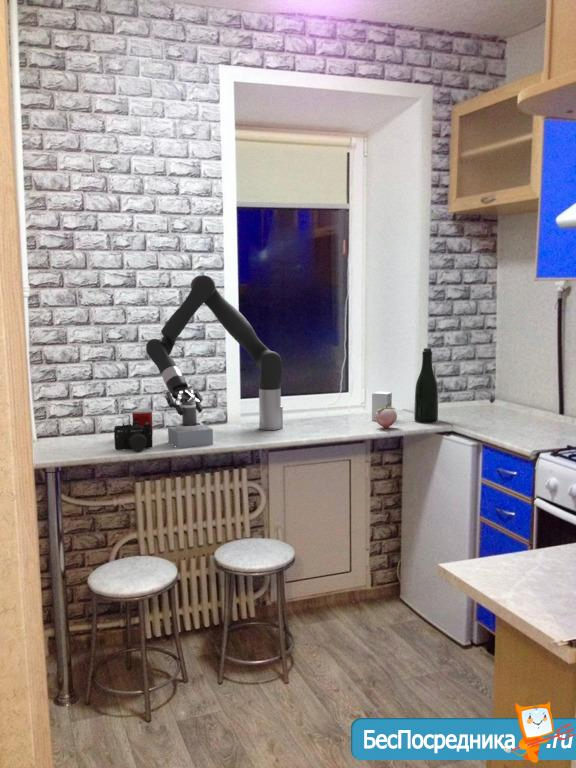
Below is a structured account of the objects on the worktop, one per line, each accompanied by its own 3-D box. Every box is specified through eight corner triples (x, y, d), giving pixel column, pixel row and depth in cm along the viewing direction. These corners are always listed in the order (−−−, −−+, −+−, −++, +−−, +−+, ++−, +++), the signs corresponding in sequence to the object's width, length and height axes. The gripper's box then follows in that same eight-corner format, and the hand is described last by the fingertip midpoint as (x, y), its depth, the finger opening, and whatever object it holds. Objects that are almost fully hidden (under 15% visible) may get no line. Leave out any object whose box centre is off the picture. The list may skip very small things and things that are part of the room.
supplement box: (387, 421, 303) (387, 394, 301) (371, 420, 306) (371, 393, 304) (391, 419, 310) (392, 391, 308) (376, 418, 313) (376, 391, 311)
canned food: (156, 435, 277) (155, 409, 275) (146, 439, 269) (145, 412, 268) (139, 434, 279) (138, 408, 278) (129, 438, 271) (128, 411, 270)
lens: (193, 426, 264) (193, 401, 263) (198, 428, 259) (197, 403, 258) (180, 427, 262) (179, 402, 261) (184, 430, 257) (184, 404, 256)
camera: (115, 454, 244) (114, 427, 243) (114, 448, 254) (113, 422, 253) (154, 451, 248) (153, 425, 247) (152, 445, 258) (151, 420, 257)
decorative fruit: (386, 425, 294) (387, 402, 293) (400, 428, 288) (400, 405, 286) (370, 428, 289) (370, 405, 288) (383, 431, 282) (384, 407, 281)
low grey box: (202, 438, 270) (201, 420, 269) (213, 444, 259) (212, 425, 258) (168, 442, 264) (167, 423, 263) (177, 448, 253) (177, 428, 252)
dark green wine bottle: (413, 419, 309) (414, 347, 305) (436, 419, 308) (437, 347, 304) (415, 423, 298) (416, 349, 294) (439, 423, 297) (440, 349, 293)
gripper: (162, 376, 259) (179, 409, 252) (193, 373, 268) (210, 404, 261) (155, 388, 263) (172, 421, 256) (186, 385, 273) (203, 416, 266)
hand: (191, 412), depth 259 cm, fingers open, 8 cm apart
